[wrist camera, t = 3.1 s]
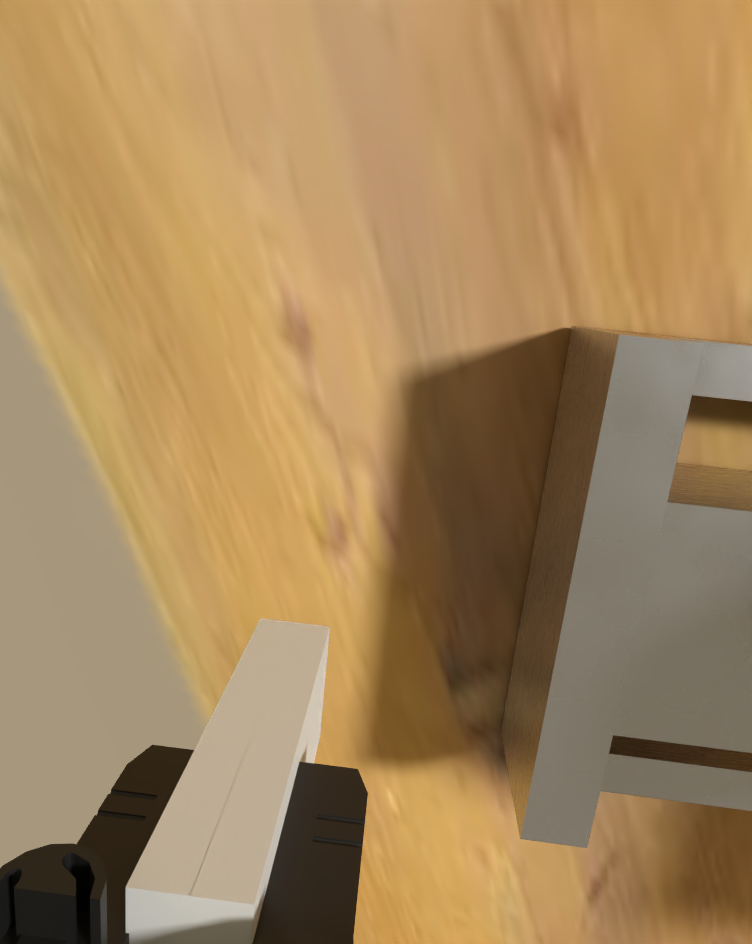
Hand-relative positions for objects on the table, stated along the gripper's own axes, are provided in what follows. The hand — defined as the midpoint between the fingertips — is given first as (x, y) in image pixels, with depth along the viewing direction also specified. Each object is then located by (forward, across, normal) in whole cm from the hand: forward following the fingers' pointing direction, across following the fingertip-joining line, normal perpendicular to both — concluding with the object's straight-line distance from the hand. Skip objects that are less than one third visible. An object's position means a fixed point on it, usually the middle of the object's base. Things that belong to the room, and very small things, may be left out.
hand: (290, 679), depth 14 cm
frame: (+9, +14, 0) cm, 17 cm away
